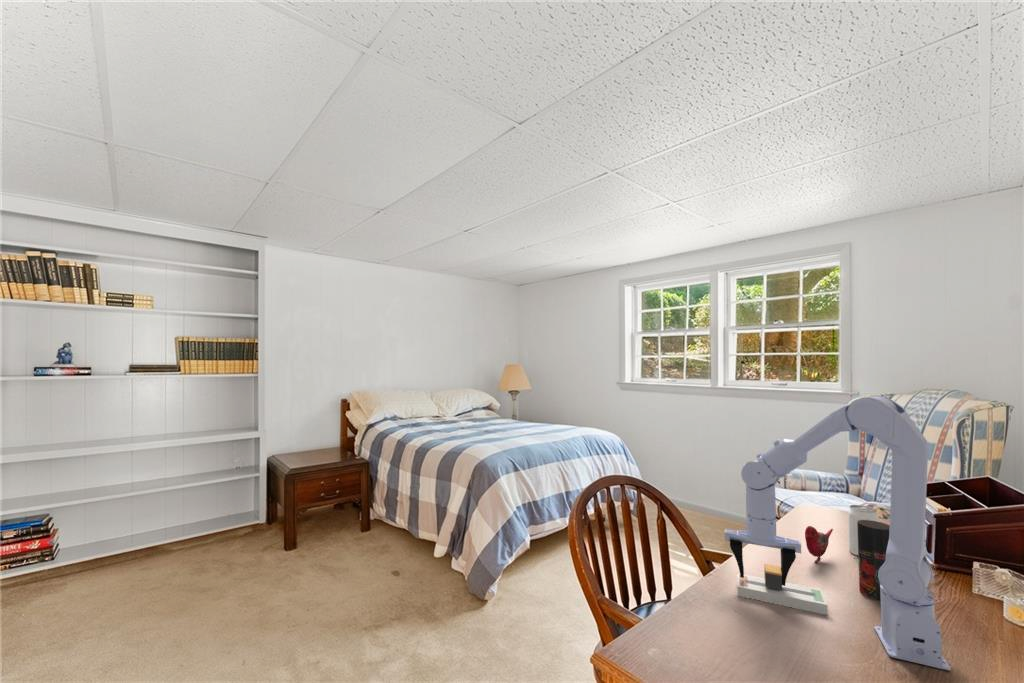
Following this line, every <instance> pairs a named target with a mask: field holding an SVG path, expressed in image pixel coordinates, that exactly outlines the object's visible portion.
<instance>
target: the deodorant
mask: <svg viewBox="0 0 1024 683" xmlns="http://www.w3.org/2000/svg"><path fill="white" fill-rule="evenodd" d="M857 526H858V556H857V558H858V582H859V583H858V584H859V592H860V594H861V595H863V596H864V597H866V598H868V599H871V600H872V601H873V600H874V601H877V602H881V594H880V585H881V583H880V581H879V578H878V572H879V569H880V567H881V566H882V565H883V564H884V563H885V560H886V551H887V546H888V541H889V529H890V524H888V523H885V522H880V521H879V522H877V521H871V520H859V521H857Z"/></svg>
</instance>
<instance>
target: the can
mask: <svg viewBox="0 0 1024 683" xmlns="http://www.w3.org/2000/svg"><path fill="white" fill-rule="evenodd" d="M877 511H878V509H876V508H874V507H871V506H866V505H860V504H851V505H849V510H848V511H847V521H848V522H847V523H848V549H849V551H850V553H851V554H852V555H854V556H856V557H858V526H857V521H859V520H871V521H877V522H880V517H879V515H878V513H877Z"/></svg>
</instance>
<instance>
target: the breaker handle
mask: <svg viewBox="0 0 1024 683" xmlns="http://www.w3.org/2000/svg"><path fill="white" fill-rule="evenodd" d="M763 565H764V566H763V567H764V568H763V569H764V578H765V586H766V587H767V588H772V589H777V590H782V573H781V565H773V564H768V563H763Z"/></svg>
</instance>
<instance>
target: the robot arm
mask: <svg viewBox="0 0 1024 683" xmlns="http://www.w3.org/2000/svg"><path fill="white" fill-rule="evenodd" d="M857 430H860V431H862V432H863V433H866V434H868V435H871V436H872V437H875V438H876V439H877V440H879V441H880V442H881V443H882V444H884V445H885V446H886V447H887V448H888V449H889V450H890V451H891V452H892V458H891V459H892V460H891V477H890V478H891V480H890V481H891V482H890V484H891V486H890V507H889V509H890V510H889V525H890V529H889V541H888V546H887V551H886V560H885V563H884V564H883V565H882V566H881V567H880V569H879V572H878V578H879V581H880V583H881V585H880V594H881V601H880V618H881V620H880V621H881V624H880V625H881V626H878V625H875V626H874V631H875V633H876V634H877V636H878V639H879V640H880V642H881V644H882V646H883V648H884V649H885V651H886V653H887V655H888V656H889V657H890V658H894V659H899V660H903V661H906V662H911V663H915V664H918V665H919V664H920V665H923V666H928V667H933V668H936V669H940V670H946V671H951V666H950V665H949V663H948V662H947V661H946V659H945V657H944V656H943V642H942V641H943V638H942V630H941V627H940V625H939V623H938V621H937V619H936V616H935V597H934V596H933V594H932V593H931V591H930V590H929V588H928V585H929V583H930V582H931V581H932V579H933V577H934V576H933V575H934V572H933V569H932V566H931V564H930V562H929V560H928V557H927V547H926V542H925V539H926V514H927V513H926V512H927V509H926V508H927V490H928V489H927V488H928V487H927V486H928V464H929V463H928V461H929V460H928V459H929V455H928V454H929V443H928V441H927V438H926V437H925V436H924V435H923V433H922V432H921V431H920V429H919V428H918V427H917V425H916V424H915V423H914V421H913V420H912V419H911V417H910V416H909V414H908V412H907V410H906V409H905V408H904V406H901V405H900V404H899V403H897V402H896V401H894V399H893V400H892V399H891V398H889V397H887V396H884V395H879V394H878V395H877V394H876V395H871V396H867V397H866V396H864V397H860V398H857V399H855V400H853V401H852V402H851V403H850V404H847V405H844V406H842V407H840V408H838V409H836V410H834V411H833V412H831V413H829V414H828V415H827V416H825V417H824V418H822V419H821V420H820V421H819V422H817V423H816V424H815V425H813V426H811V427H810V428H809V429H808V430H806V431H805V432H804V433H803V434H801V435H800V436H799V437H797V438H795V439H790V438H783V439H782V440H781V439H777V440H775V441H774V442H773V443H772V444H773V445H774V446H772V447H771V448H770V449H768V450H767V451H765V452H764V453H762V452H760V453H758V454H756V456H755V457H756V459H757V460H756V459H755V460H752V461H747V462H746V463H745V465H744V466H743V467H742V469H741V479H742V481H743V482H744V484H745V509H746V510H745V516H746V517H745V518H746V519H745V520H746V521H745V522H746V530H734V529H724V541H725V542H729V547H730V549H731V552H732V554H733V556H734V558H735V560H736V563H737V566H738V570H739V574H740V577H742V578H744V574H745V571H744V570H745V569H744V568H745V567H744V560H743V556H744V555H743V543H744V544H749V545H755V546H762V547H766V548H767V547H768V548H774V549H779V550H780V568H781V573H782V585H783V586H785V583H787V578H788V575H789V571H790V570H791V567H792V565H793V564H794V562H795V560H796V558H797V554H802V543H801V541H800V540H795V539H791V538H788V537H784V536H783V537H782V536H779V535H777V508H776V507H777V505H776V504H777V503H776V502H777V501H776V499H777V498H776V484H777V483H778V482H779V480H780V479H781V478H784V477H785V476H786V475H788V474H789V473H791V472H792V471H794V470H796V469H797V468H799V467H801V466H802V465H804V464H805V463H807V461H808V453H809V452H810V451H812V450H813V449H815V448H817V447H818V446H820V445H821V444H823V443H825V442H827V441H828V440H830V439H831V438H833V437H834V436H836V435H838V434H839V433H841V432H842V433H843V432H853V431H857Z"/></svg>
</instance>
